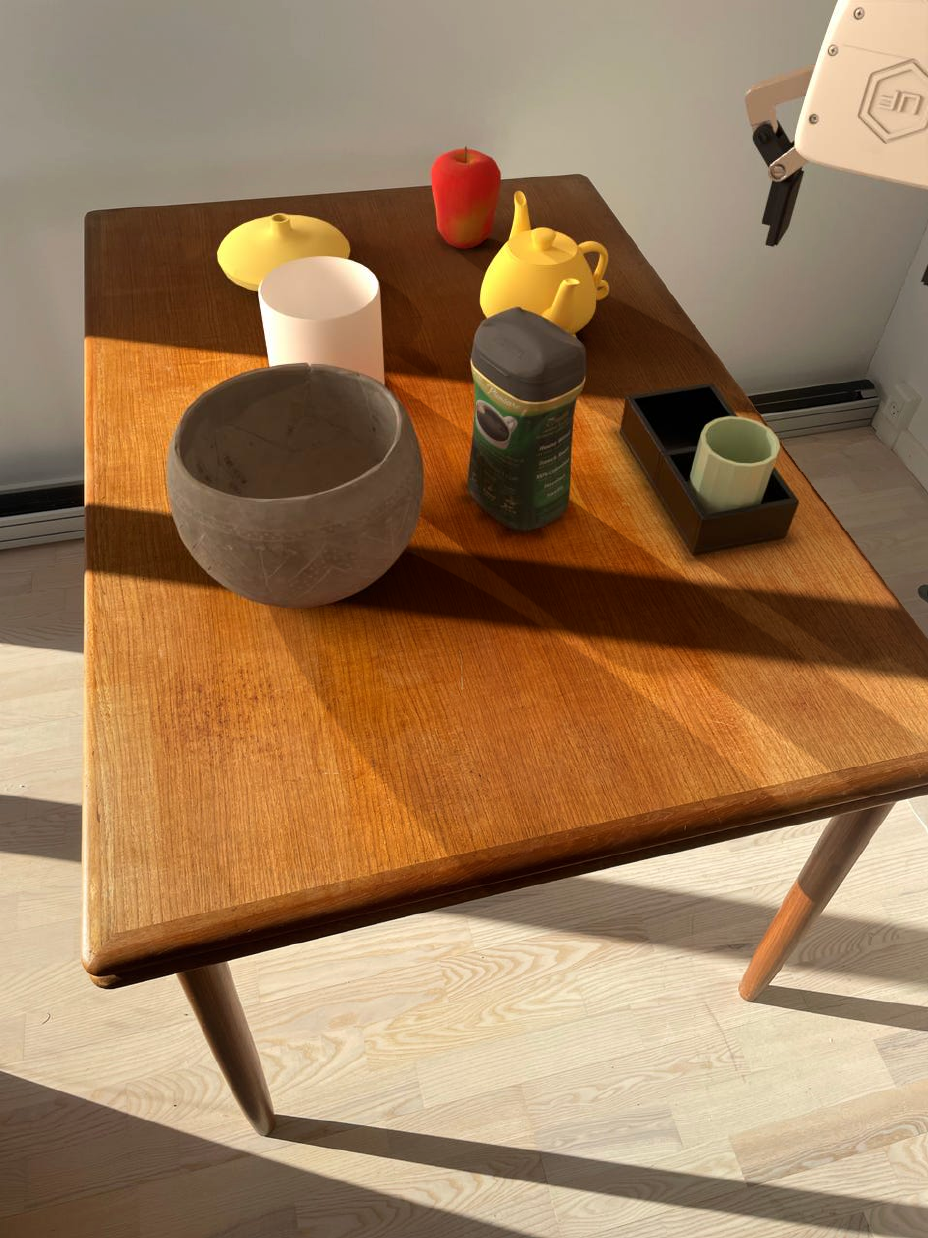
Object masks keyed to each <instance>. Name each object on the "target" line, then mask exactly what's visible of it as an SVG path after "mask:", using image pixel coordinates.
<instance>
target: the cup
mask: <svg viewBox="0 0 928 1238" xmlns="http://www.w3.org/2000/svg"><path fill="white" fill-rule="evenodd" d="M380 287H381V286H380V282H379V280H378V278H377V276H376V275H375V274H374V273H373V272H372V271H371V270H370V269H369V268H368V267H366V266H364V265H363V264H361V263H358V262H356V261H354V260H352V259H349V258H348V259H343V258H338V257H329V256H316V257H307V258H301V259H297V260H293V261H290V262H287V263H284V264H282V265H280V266H278V267H277V268H275V269H273V270H272V271H271V272H270V273H268V274H267V275H266V277H265V278H264V279H263V280H262V282H261V284H260V287H259V292H258V300H259V307H260V312H261V313H260V314H261V320H262V327H263V332H264V339H265V345H266V351H267V357H268V364H269V367H270V366H276V365H282V364H293V363H308V364H309V366H310V365H311V364H326V365H331V366H335V367H340V368H344V369H348V370H351V371H355V372H358V373H359V374H360V373H362V374H365V375H367V376H370V377H372V378H373V379H375V380H377V381H379V382H381V383H382V384H383V385H384V386H385V385H386V383H385V366H384V365H385V363H384V346H383V345H384V344H383V327H382V323H383V322H382V305H381V288H380ZM385 387H386V386H385Z"/></svg>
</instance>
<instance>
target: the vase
mask: <svg viewBox="0 0 928 1238" xmlns="http://www.w3.org/2000/svg"><path fill="white" fill-rule="evenodd" d="M350 246H351V245H350V242H349V240H348V238H347V237H345V235H344V234H343V233H342V232H341V231H340V230H339V229H338V228H337V227H336V226H333V224H331V223H329V222H327V221H325V220H321V219H319V218H317V217H311V216H306V215H301V214H300V215H297V214H286V213H283V212H282V213H281V212H280V213H275V214H272V215H269V216H264V217H260V218H259V217H258V218H255V219H253V220H250V221H247V222H244V223H243V224H240V225H239V226H237V227H235V228H234V229H232V230H231V231H230V232H229V233H228V234H226V236H225V237H224V238H223V240H222V241H221V243H220V245H219V247H218V249H217V252H216V253H217V262H218V264H219V266H220V267H221V269H222V271H223V273H224V274H225V276H226V277H227V278H228V279H229V280H231V282H233V283H234V284H235V285H237V286H240V287H243V288H245V289H247V290H250V291H254V292H258V293H259V287H260V284H261V282H262V280H263V279H264V278H265V277H266V275H267V274H268V273H270V272H271V271H272V270H273V269H275V268H277V267H278V266H280V265H282V264H284V263H287V262H290V261H293V260H297V259H301V258H307V257H316V256H329V257H338V258H343V259H348V260H349V256H350V253H351V247H350Z"/></svg>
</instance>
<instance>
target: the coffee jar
mask: <svg viewBox="0 0 928 1238" xmlns="http://www.w3.org/2000/svg"><path fill="white" fill-rule="evenodd" d="M586 357H587V356H586V347H585V345H584V344H583V342H581V341H580V340H579V339H578V338H575V337H574V336H572V335H571V334H569V333H568V332H567V331H565V330H564V329H562V328H561V327H559V326H557V325H556V324H554V323H552V322H551V321H549V320H548V319H546V318H544V317H542V316H540V315H538V314H535V313H533V312H530V311H527V310H523V309H522V308H521V307H514V308H511V309H508V310H505V311H503V312H500V313H498V314H495V315H493V316H491V317H489V318H487V317H486V318H485V319H484V320H482V321H481V322H480V324H479V326H478V328H477V329H476V331H475V334H474V338H473V344H472V349H471V355H470V369H471V374H472V380H473V386H474V411H473V424H472V434H471V435H472V436H471V446H470V455H469V463H468V471H467V472H468V473H467V490H468V493H469V495H470V496H471V498H472V499H473V500H474V501H475V502H476V503H477V505H478V506H479V507H480V508H481V509H482V510H483V511H485V512H486V513H487V515H490V516H491V517H492V519H494V520H496V521H497V522H498V523H500V524H502V525H503V526H504V527H506V528H508V529H510V530H512V531H517V532H528V531H533V530H534V531H535V530H538V529H541V528H544V527H546V526H547V525H550V524H551V523H553V522H554V521H556V520H558V519H559V517H561V516H562V515H564V513H565V512H566V510H567V509H568V507H569V503H570V494H571V483H572V482H571V481H572V478H571V477H572V449H573V448H572V447H573V437H574V436H573V435H574V418H575V409H576V405H577V400H578V398H579V396H580V394H581V392H582V391H583V388H584V386H585V382H586V369H587V367H586Z"/></svg>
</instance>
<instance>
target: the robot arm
mask: <svg viewBox="0 0 928 1238" xmlns="http://www.w3.org/2000/svg"><path fill="white" fill-rule="evenodd" d="M816 59H817V60H816V63H813V64H811V65H807V66H804V67H801V68H798V69H795V70H791V71H789V72H786V73H783V74H780V75H779V74H778V75H776V76H773V77H771V78H767V79H764V80H761V81H758V82H756V83H754V84H753V85H752V86H751V87H750V88H749V90H748V91H747V92H746V93H745V96H744V103H745V107H746V111H747V115H748V119H749V124H750V127H751V129H752V142H753V144H754V146H755V147H756V149H757V151H758V152H759V154H760V156H761V158H762V159H763V161H764V163H765V164H766V166H767V168H768V169H767V175H768V177H769V179H770V180H771V183H770V188H769V192H768V195H767V200H766V203H765V207H764V211H763V215H762V219H761V224H762V225H766V226H769V227H768V228H769V229H768V232H767V234H766V235H767V236H766V240H765V242H764V243H765V244H764V246H768V247H771V248H774V247H775V246H778V245H779V243H780V242H781V241H782V239H783V237H784V236H785V234H786V232H787V231H788V229H789V226H790V224H791V221H792V217H793V213H794V210H795V206H796V203H797V198H798V195H799V192H800V188H801V186H802V185H801V184H802V182H803V177H804V174H805V170H803V167H804V165H806V164H808V163H809V162H810V163H812V164H815V165H817V166H822V167H825V168H829V169H833V170H837V171H842V172H845V173H849V174H854V175H860V176H863V177H867V178H872V179H876V180H881V181H886V182H890V183H895V184H899V185H905V186H909V187H913V188H917V189H922V190H923V189H924V190H928V0H837V2H836V4H835V7H834V10H833V12H832V16H831V19H830V21H829V24H828V26H827V30H826V32H825V35H824V39H823V42H822V43H821V48H820V50H819V52H818V56H817V58H816ZM802 97H804V101H803V105H802V107H801V112H800V114H799V117H798V122H797V126H796V129H795V135H794V138H793V139H792V140H791V141H790V138H789V137H788V135H787V134H786V132H785V130H784V128H783V126H782V125H781V123H780V121H779V120H778V119H777V115H776V114H777V111H776V105H779V104H783V103H786V102H790V101H792V100H795V99H799V98H802ZM920 282H921V283H923V284H922V285H923V286H927V287H928V264H927V265H926V268H925V270H924V272H923V275H922V277H921V279H920Z"/></svg>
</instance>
